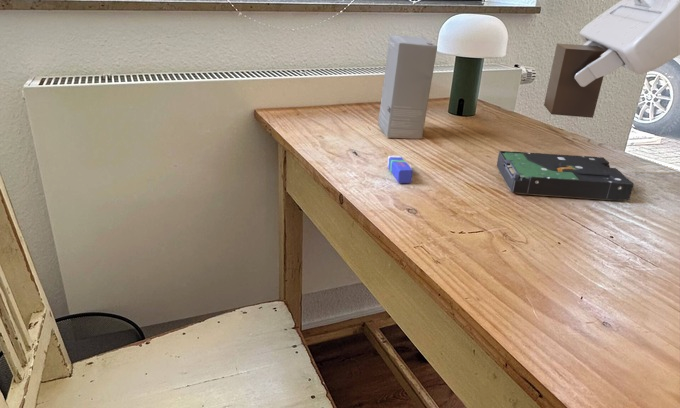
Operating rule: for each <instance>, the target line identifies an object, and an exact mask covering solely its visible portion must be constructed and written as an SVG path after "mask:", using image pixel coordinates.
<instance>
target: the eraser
mask: <svg viewBox="0 0 680 408" xmlns="http://www.w3.org/2000/svg"><path fill="white" fill-rule="evenodd" d="M386 166H387V169H388V171H389V172H390V173H391V174H392V175H393V176H394V178H395V180H396V181H397V183H398V184H411V183H412V181H413V173H414V172H413V169H412V168H411V166H410V165H409V164H408V163H407V161H405V159H403V157H402V156H401V155H399V154H398V155H388V156H387V165H386Z"/></svg>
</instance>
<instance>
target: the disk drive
mask: <svg viewBox="0 0 680 408" xmlns="http://www.w3.org/2000/svg"><path fill="white" fill-rule="evenodd" d="M496 167H497V170H498V172H499V173H500V176H501V177H502V179H503V181H504V182H505V184H506V186H507V188H508V189H509V191H510V192H511V193H516V194H519V195H531V196H541V197H562V198H574V199H575V198H576V199H590V200H601V201H602V200H603V201H630V198H631V195H632V192H633V189H634V185H635V184H634V181H632V180H630V179H629V178H628V177H627V176H625V175H624V174H623V173H622V172H621V171H620V170H618V168H616V167H611V166H610V162H609V161H608V160H607V159H606V158H605V157H603V156H601V157H600V156H590V155H589V156H588V155H584V156H583V155H576V154H575V155H571V154H556V153H539V152H525V151H508V150H499V151H498V156H497V161H496Z"/></svg>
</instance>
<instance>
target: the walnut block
mask: <svg viewBox="0 0 680 408" xmlns="http://www.w3.org/2000/svg"><path fill="white" fill-rule="evenodd" d="M606 51H607V50H605V49H603V48H601V47H599V46H589V45H583V44H574V43H573V44H571V43H556V46H555V51H554V56H553V60H552V65H551V70H550V75H549V78H548V84H547V88H546V93H545V98H544V102H543V106H544V107H545V108H546V110H547V111H548V112H549V113H550V115H553V116H566V117H568V116H569V117H579V118H590V119H593V118H594V116H595V112H596V108H597V103H598V100H599V96H600V92H601V88H602V84H603V80H604V77H605V75H604V76H602V77H600V78H597V79H595V80H594V81H592V82H591V83H589V84H588V85H587V86H585V87H582V86H580V85H579V84H578V83H577V82H576V81H575V79H574V78H573V74H574V73H575V72H576V71H578V70H579V69H580V68H581V67H583V66H584V65H585V66H587V65H589V64H590V63H592V62H593V61H595V60H596V59H598V58H600V57H601V56H600V55H601V54H603V53H604V52H606Z"/></svg>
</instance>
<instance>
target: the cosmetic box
mask: <svg viewBox="0 0 680 408" xmlns="http://www.w3.org/2000/svg"><path fill="white" fill-rule="evenodd" d="M388 38H389V39H388V46H387V53H386V59H385V60H386V61H385V67H384V68H385V69H384V76H383V84H382V91H381V100H380V106H379V114H378V120H377V125H378V127H379V128H380V130H381V131H382V133H383V134H384V136H385V137H386V138H387V139H414V140H415V139H417V140H419V139H423V135H424V129H425V122H426V117H427V110H428V104H429V98H430V92H431V85H432V81H433V75H434V68H435V64H436V57H437V51H438V45H437V44H435V43H434V42H433V41H432V40H429V39H427V38H426V37H423V36H410V35H401V34H390V35H389V37H388Z"/></svg>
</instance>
